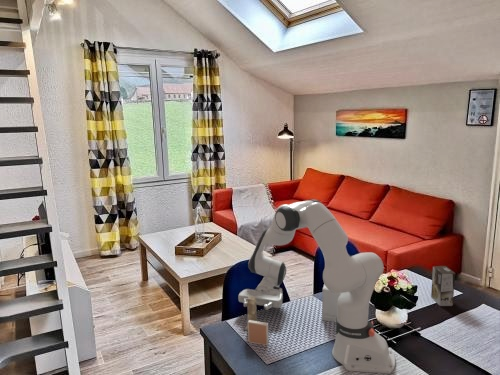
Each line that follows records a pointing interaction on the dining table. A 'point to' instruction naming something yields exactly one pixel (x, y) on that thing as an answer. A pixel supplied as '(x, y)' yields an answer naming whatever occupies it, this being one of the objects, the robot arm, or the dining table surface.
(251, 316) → the wooden post on base
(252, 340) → the tile
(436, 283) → the coffee box
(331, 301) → the supplement box
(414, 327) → the dining table surface
